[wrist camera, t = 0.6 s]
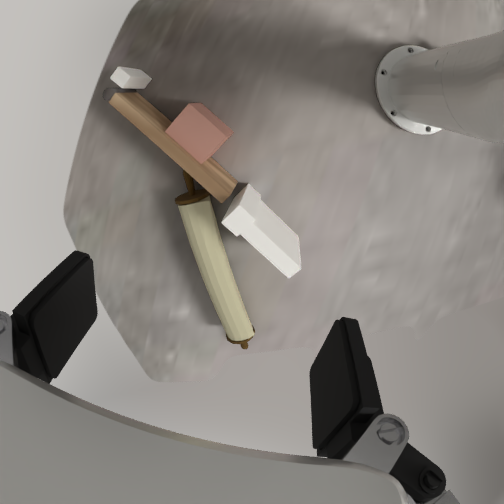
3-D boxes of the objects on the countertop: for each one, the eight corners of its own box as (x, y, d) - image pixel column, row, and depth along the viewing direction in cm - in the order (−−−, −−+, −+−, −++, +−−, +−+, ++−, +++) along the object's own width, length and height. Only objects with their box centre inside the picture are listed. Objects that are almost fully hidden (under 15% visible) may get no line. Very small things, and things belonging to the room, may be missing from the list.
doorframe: (140, 69, 34) (107, 65, 26) (311, 225, 42) (317, 255, 35) (120, 97, 36) (84, 99, 28) (286, 247, 44) (285, 280, 37)
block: (201, 102, 36) (189, 103, 31) (234, 132, 38) (226, 136, 33) (179, 127, 38) (164, 131, 33) (211, 156, 39) (201, 164, 35)
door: (131, 86, 35) (107, 85, 29) (238, 180, 41) (230, 194, 35) (124, 94, 36) (100, 95, 30) (230, 188, 41) (221, 204, 35)
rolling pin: (173, 168, 41) (160, 177, 36) (210, 158, 40) (201, 166, 35) (232, 341, 55) (228, 360, 50) (262, 338, 54) (260, 358, 49)
